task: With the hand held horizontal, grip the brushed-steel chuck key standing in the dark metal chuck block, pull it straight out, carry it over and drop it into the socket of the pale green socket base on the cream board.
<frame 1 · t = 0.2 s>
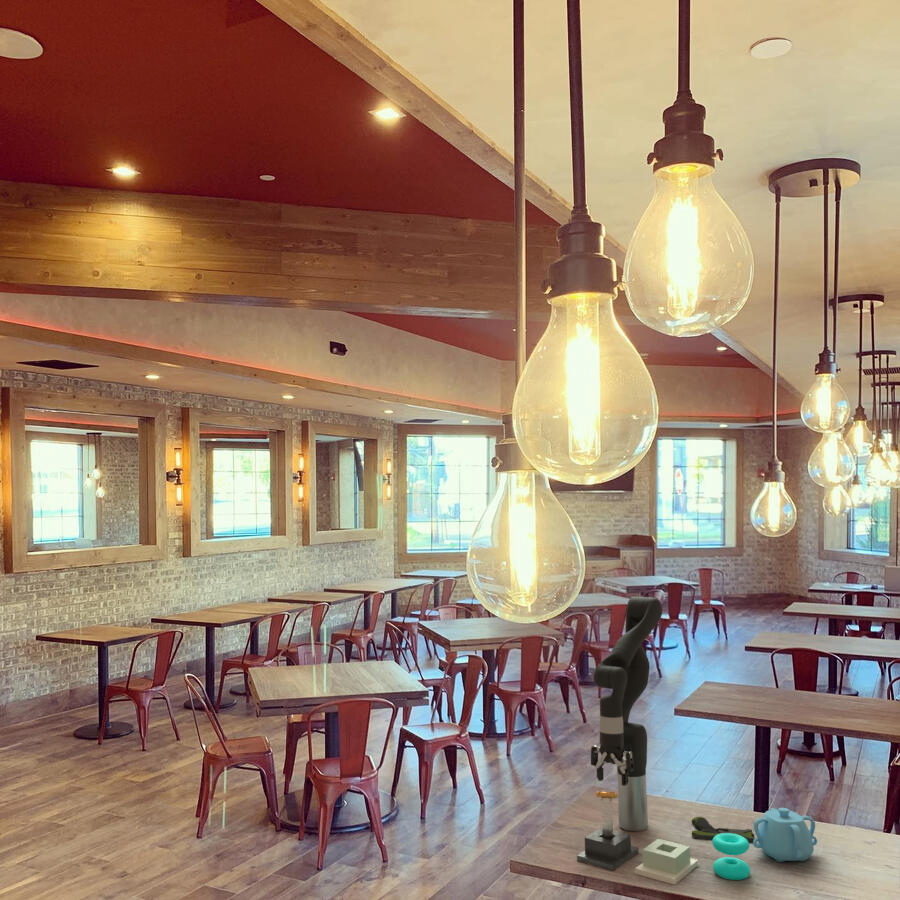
hand: (612, 782, 275), 18 cm above the table, tool pointing down, fingers open, 8 cm apart
donuts: (731, 874, 248), on the table
chuck block: (608, 856, 262), on the table
chuck key: (608, 851, 262), point 1 cm above the table, touching chuck block
pale green socket base: (667, 869, 252), on the table
decorative pot: (785, 856, 260), on the table
gun: (721, 834, 279), on the table
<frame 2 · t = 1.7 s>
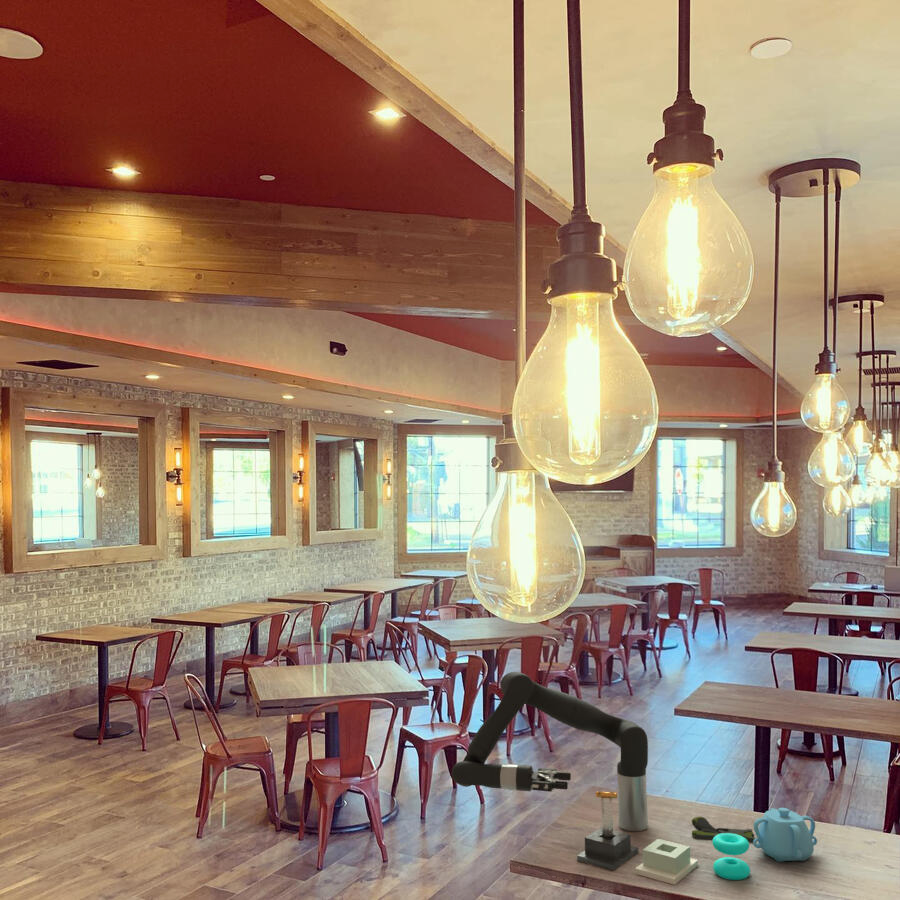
hand: (569, 781, 265), 22 cm above the table, tool horizontal, fingers open, 8 cm apart
nothing on the table moved.
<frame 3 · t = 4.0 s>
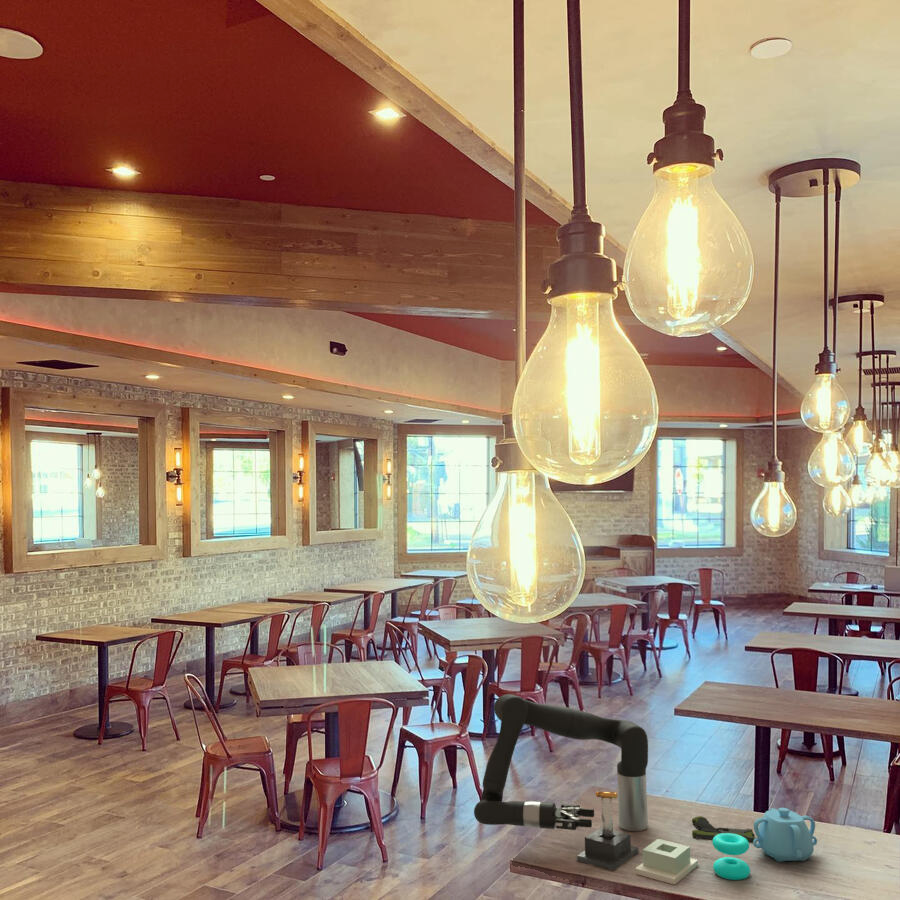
hand: (592, 818, 263), 11 cm above the table, tool horizontal, fingers open, 8 cm apart
nothing on the table moved.
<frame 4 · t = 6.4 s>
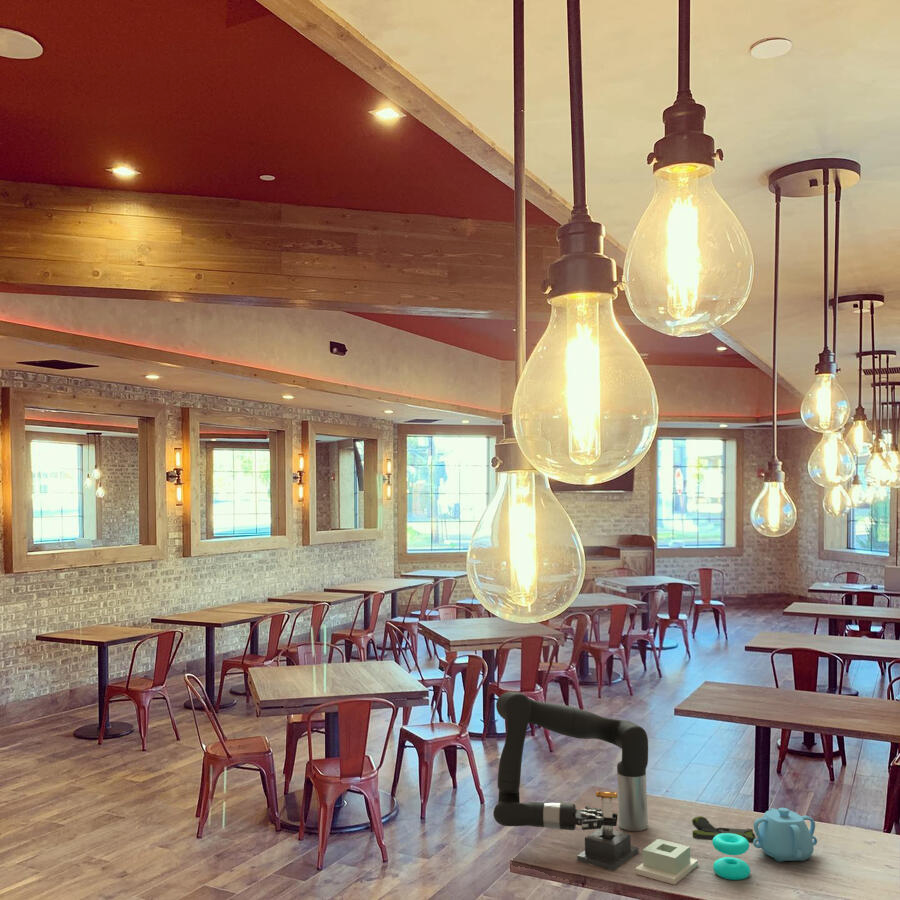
hand: (616, 819, 262), 11 cm above the table, tool horizontal, fingers closed on chuck key, 3 cm apart
chuck key: (608, 851, 262), point 2 cm above the table, touching chuck block, gripper
everything else where it was.
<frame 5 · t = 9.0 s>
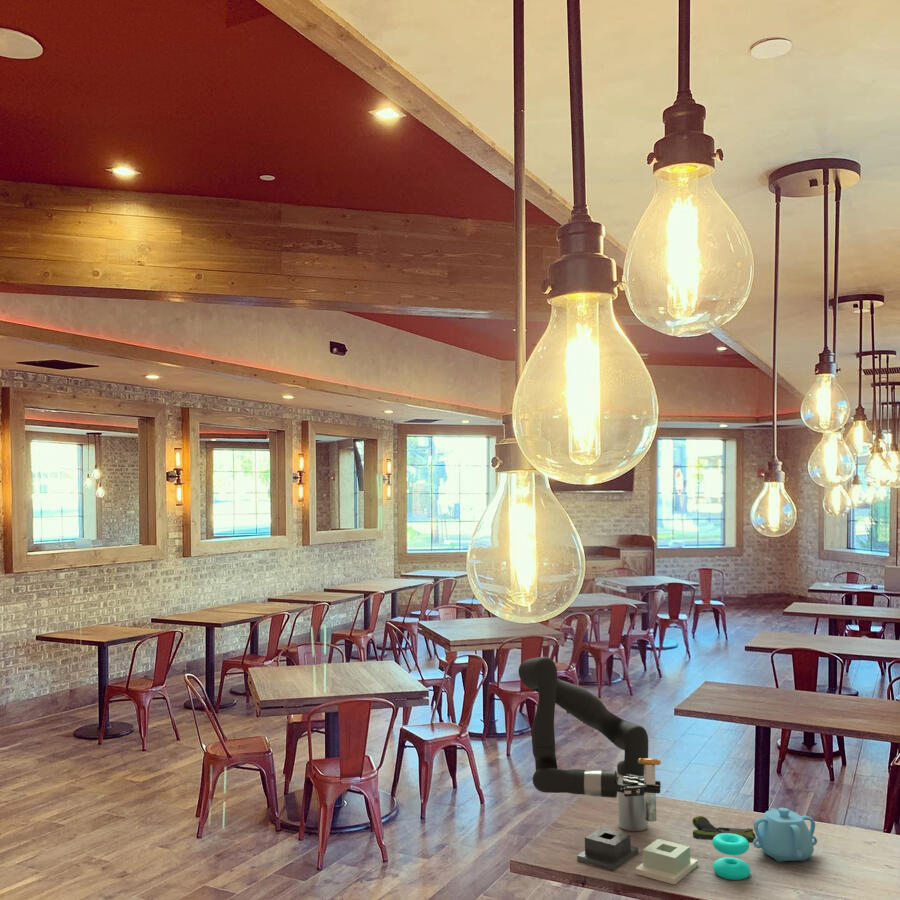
hand: (660, 787, 255), 23 cm above the table, tool horizontal, fingers closed on chuck key, 3 cm apart
chuck key: (650, 819, 255), point 13 cm above the table, touching gripper
everything else where it was.
when the fingers open (12 cm above the table, at t = 12.0 s): chuck key drops 1 cm, resting on pale green socket base.
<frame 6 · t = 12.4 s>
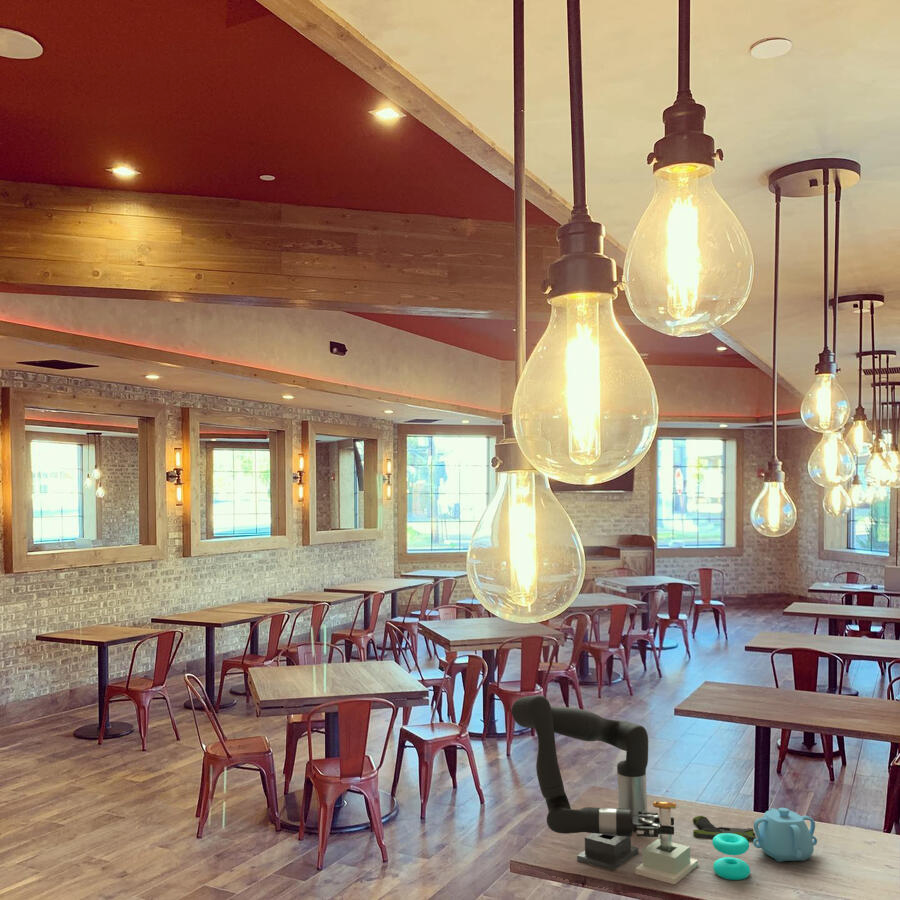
hand: (673, 825, 252), 12 cm above the table, tool horizontal, fingers open, 6 cm apart
chuck key: (666, 864, 252), point 2 cm above the table, touching pale green socket base
everything else where it was.
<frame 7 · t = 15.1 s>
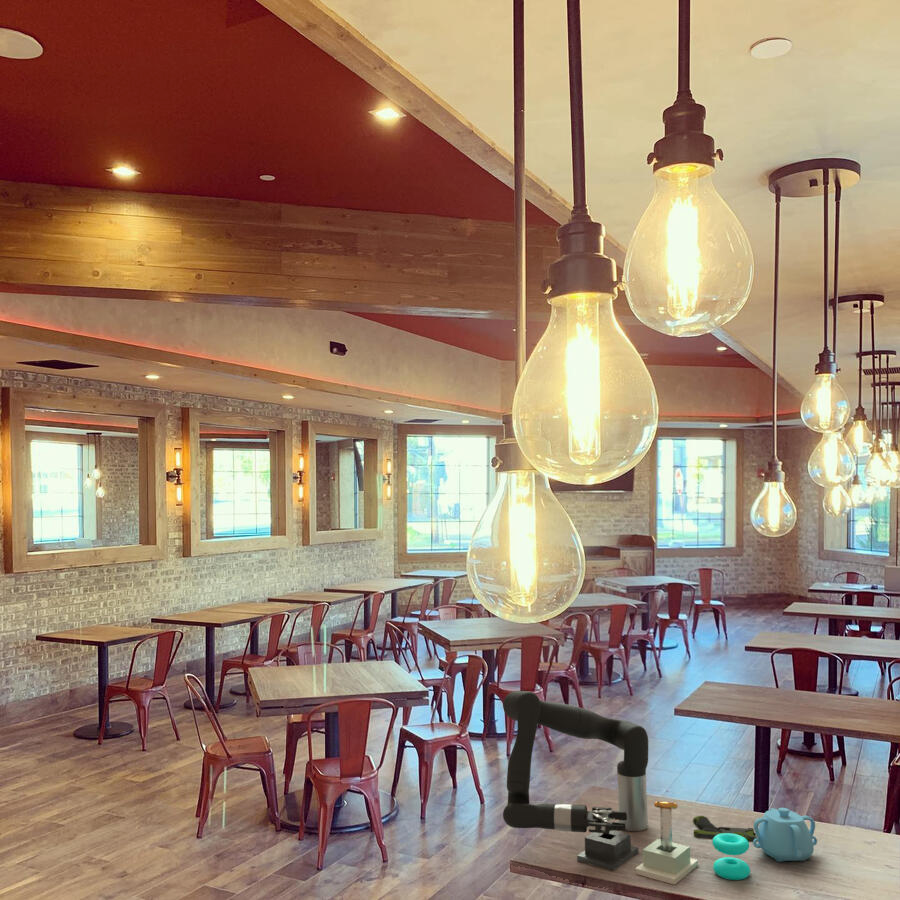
hand: (626, 821, 255), 13 cm above the table, tool horizontal, fingers open, 8 cm apart
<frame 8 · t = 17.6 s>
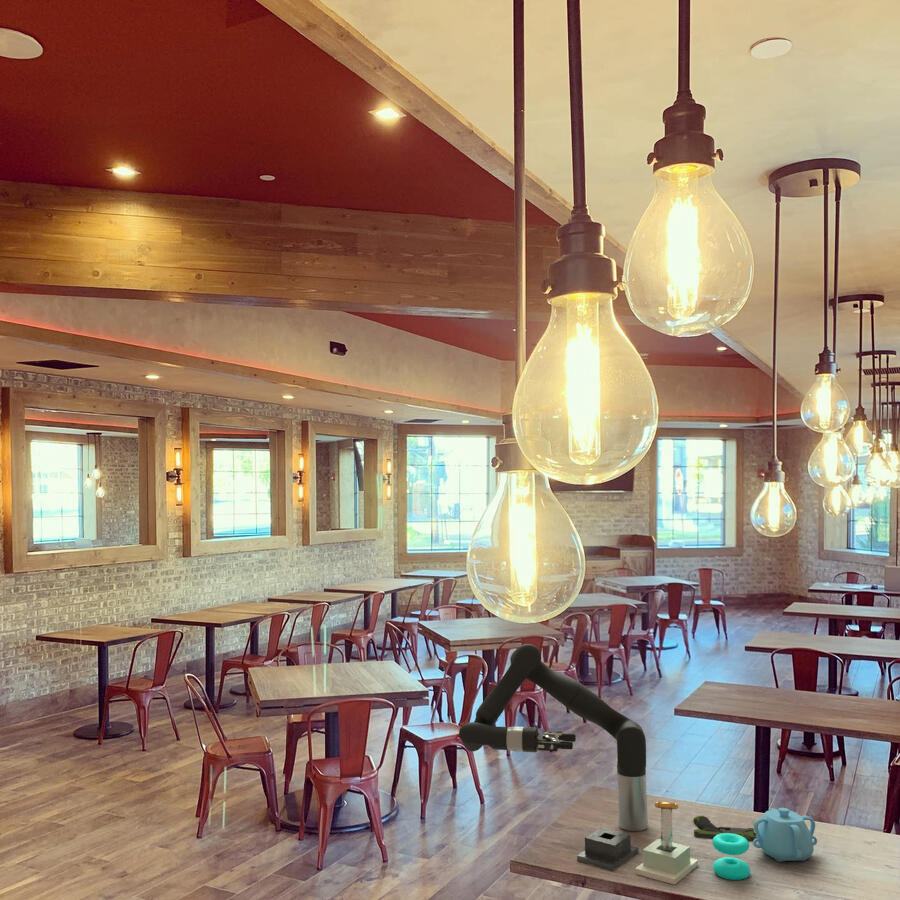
hand: (574, 741, 271), 32 cm above the table, tool horizontal, fingers open, 8 cm apart
at the end: chuck key 0.1 cm off-centre on the pale green socket base, point 1.6 cm above the pale green socket base's base; chuck key tilted 2°; the gripper is holding nothing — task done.
